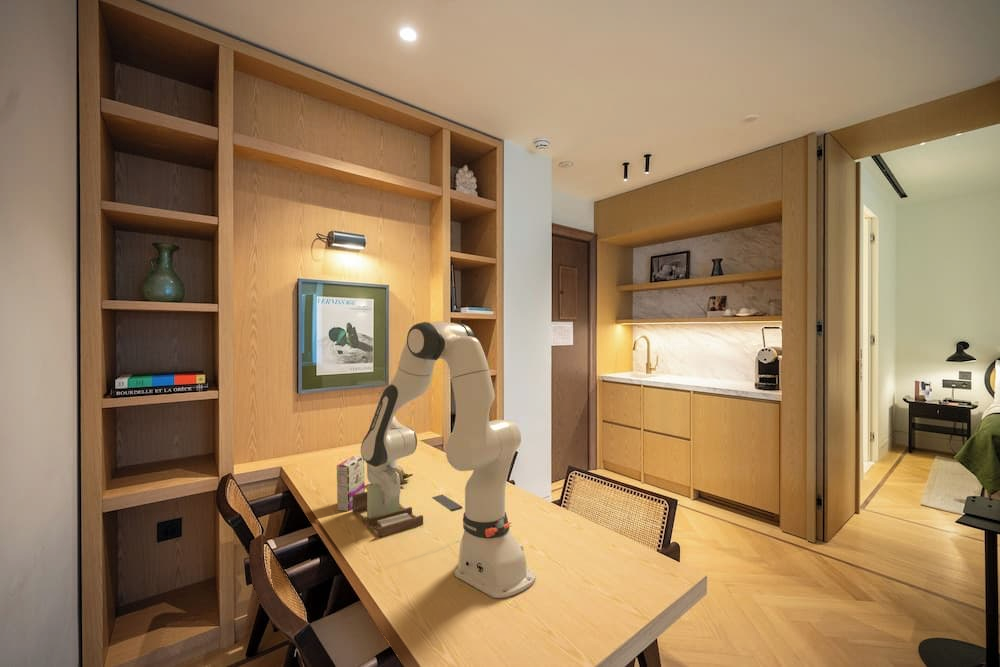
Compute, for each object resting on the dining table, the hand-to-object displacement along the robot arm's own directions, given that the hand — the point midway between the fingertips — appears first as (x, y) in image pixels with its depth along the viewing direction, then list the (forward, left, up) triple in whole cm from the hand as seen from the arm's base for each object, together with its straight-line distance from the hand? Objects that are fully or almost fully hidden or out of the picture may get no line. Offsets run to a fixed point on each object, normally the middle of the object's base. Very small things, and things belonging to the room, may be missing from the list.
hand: (383, 502), depth 146 cm
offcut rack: (-3, 0, -6) cm, 6 cm away
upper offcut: (-10, 0, -4) cm, 11 cm away
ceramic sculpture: (+29, -16, -6) cm, 34 cm away
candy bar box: (+18, +5, -6) cm, 20 cm away
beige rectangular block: (0, 0, -6) cm, 6 cm away
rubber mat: (-2, -18, -6) cm, 19 cm away
